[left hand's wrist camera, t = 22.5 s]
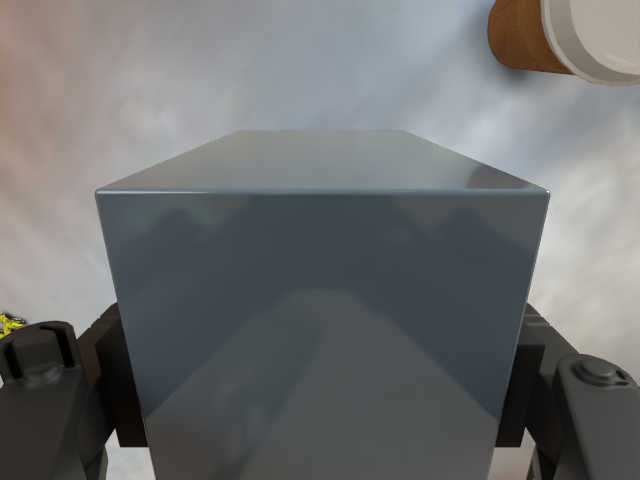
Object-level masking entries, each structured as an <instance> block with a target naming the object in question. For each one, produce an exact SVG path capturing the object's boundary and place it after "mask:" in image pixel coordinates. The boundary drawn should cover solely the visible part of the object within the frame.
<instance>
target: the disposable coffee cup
mask: <svg viewBox="0 0 640 480" xmlns="http://www.w3.org/2000/svg"><path fill="white" fill-rule="evenodd" d="M487 33H488V41H489V45H490V47H491V49H492V51H493V53H494V55H495V56H496V58H497V59H498V60H499V61H500V62H502V63H503V64H504V65H506V66H508V67H511V68H515V69H523V70H532V71H542V72H550V73H559V74H569V75H577V76H579V77H581V78H583V79H585V80H587V81H589V82H591V83H596V84H601V85H607V86H629V85H633V84H638V83H640V0H496V2H495V4H494V6H493V8H492V10H491V13H490V16H489V20H488V29H487Z"/></svg>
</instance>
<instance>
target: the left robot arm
mask: <svg viewBox="0 0 640 480" xmlns="http://www.w3.org/2000/svg"><path fill="white" fill-rule="evenodd" d="M0 375H1V377H2V380H3V383H4V384H3V386H2V388H0V480H106V472H107V465H108V457H107V451H106V447H105V444H106V442H107V440H108V439H109V437H110V435H111V434H112V432H113V431H114V429H116V433H117V437H118V441H119V445H120V447H148V442H147V437H146V433H145V428H144V423H143V419H142V414H141V409H140V405H139V400H138V395H137V391H136V386H135V381H134V376H133V372H132V367H131V362H130V358H129V353H128V348H127V344H126V339H125V334H124V330H123V325H122V320H121V316H120V311H119V306H118V302H116V303H114V304H113V305H111V306H110V307H109V308H108V309H107V310H106V311H105V312H104V313H103V314H102V315H101V316H100V318H98V319H97V320H96V321H95V322H94V323H93V324H92V325H91V328H88V329H87V330H86V331H85V332H84V333H83V334H82V335H81V336H80V337H79V338H78V339H77V340H76V336H75V332H74V329H73V326H72V325H70V324H69V323H67V322H63V321H46V322H40V323H36V324H32V325H28V326H25V327H23V328H20V329H18V330H15V331H13V332H11V333H9V334H7V335H6V336H4V337H2V338H1V339H0ZM525 426H526V428H527V430H528V431H529V433H530V435H531V436H532V438H533V439H534V441H535V443H536V444H535V447H534V451H533V455H532V458H531V462H530V466H529V470H528V473H527V477H526V480H533V479H534V478H535V480H640V387H639V386H638V385H637V383H636V382H635V381H634V380H633V378H632V377H631V376H630V375H629V374H628V373H627V372H625V371H624V370H622V369H621V368H619V367H618V366H616V365H614V364H612V363H610V362H608V361H606V360H604V359H601V358H597V357H594V356H591V355H586V354H579V353H578V352H577V351H576V350H575V349H574V348H573V347H572V346H571V345H570V344H569V343H568V342H567V341H566V340H565V339H564V338H563V337H562V336H561V335H560V334H559V333H558V332H557V331H556V330H555V329H554V328H553V327H552V326H550V325H549V323H548V322H547V321H546V320H545V319H544V318H543V317H541V316H540V314H539V313H538V312H537V311H536V310H535V309H534V308H533V307H532V306H531V305H530V304H528V303H526V308H525V312H524V317H523V321H522V326H521V330H520V335H519V339H518V344H517V348H516V353H515V357H514V362H513V366H512V371H511V375H510V380H509V384H508V389H507V393H506V398H505V402H504V406H503V411H502V415H501V420H500V424H499V429H498V433H497V438H496V442H495V447H520V446H521V442H522V438H523V434H524V430H525Z"/></svg>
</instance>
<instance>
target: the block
mask: <svg viewBox="0 0 640 480" xmlns="http://www.w3.org/2000/svg"><path fill="white" fill-rule="evenodd" d="M95 199H96V204H97V208H98V213H99V218H100V222H101V227H102V232H103V236H104V241H105V246H106V250H107V255H108V260H109V264H110V269H111V274H112V278H113V283H114V288H115V292H116V297H117V302H118V306H119V311H120V316H121V320H122V325H123V330H124V334H125V339H126V344H127V348H128V353H129V358H130V362H131V367H132V372H133V376H134V381H135V386H136V391H137V395H138V400H139V405H140V409H141V414H142V419H143V423H144V428H145V433H146V437H147V442H148V447H149V451H150V456H151V461H152V465H153V470H154V475H155V479H156V480H487V478H488V474H489V469H490V465H491V460H492V456H493V451H494V447H495V442H496V438H497V433H498V429H499V424H500V420H501V415H502V411H503V406H504V402H505V398H506V393H507V389H508V384H509V380H510V375H511V371H512V366H513V362H514V357H515V353H516V348H517V344H518V339H519V335H520V330H521V326H522V321H523V317H524V312H525V308H526V303H527V299H528V294H529V290H530V285H531V281H532V276H533V272H534V267H535V263H536V258H537V254H538V249H539V245H540V240H541V236H542V231H543V227H544V222H545V218H546V213H547V209H548V204H549V200H550V192H549V190H546V189H544V188H542V187H539V186H537V185H534V184H532V183H529V182H527V181H525V180H522V179H520V178H517V177H515V176H513V175H510V174H508V173H505V172H503V171H500V170H498V169H496V168H493V167H491V166H488V165H486V164H483V163H481V162H479V161H476V160H474V159H471V158H469V157H466V156H464V155H462V154H459V153H457V152H454V151H452V150H449V149H447V148H445V147H442V146H440V145H437V144H435V143H432V142H430V141H428V140H425V139H423V138H420V137H418V136H415V135H413V134H411V133H408V132H406V131H335V130H238V131H236V132H233V133H231V134H228V135H226V136H224V137H221V138H219V139H216V140H214V141H212V142H209V143H207V144H204V145H202V146H200V147H197V148H195V149H192V150H190V151H188V152H185V153H183V154H181V155H178V156H176V157H173V158H171V159H169V160H166V161H164V162H161V163H159V164H157V165H154V166H152V167H149V168H147V169H145V170H142V171H140V172H137V173H135V174H133V175H130V176H128V177H125V178H123V179H121V180H118V181H116V182H114V183H111V184H109V185H106V186H104V187H102V188H99V189H97V190H96V191H95Z"/></svg>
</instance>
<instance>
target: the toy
mask: <svg viewBox="0 0 640 480" xmlns="http://www.w3.org/2000/svg"><path fill="white" fill-rule="evenodd" d="M0 320H1V322H2V323H3V331H2V330H0V339H1V338H2V337H4V336H5V335H7V334H9V333H11V332H13V331H14V328H18V327H21V326H23V325H25V323H24V321H23V320H22V319H16V318H11V317H10V316H9V315H8V314H6V313H1V314H0Z"/></svg>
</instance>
